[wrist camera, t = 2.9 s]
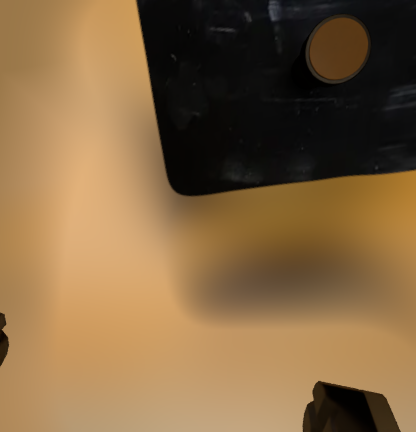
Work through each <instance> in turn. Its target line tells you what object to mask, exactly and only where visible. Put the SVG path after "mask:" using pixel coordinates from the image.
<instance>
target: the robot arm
mask: <svg viewBox="0 0 416 432" xmlns="http://www.w3.org/2000/svg"><path fill="white" fill-rule="evenodd" d="M5 325H6V320H5V315H4V314H3V313H0V366H1V365H2V363H3V361H4V358H5V357H6V355H7V352H8V346H9V342H8V337H7V336H6V334H5V333H4V332H3V331H2V329H3V327H4V326H5ZM313 398H314V401H312V402H310V403H309V404H307V407H306V410H305V413H304V419H303V432H401V431H400V429H399V427H398V425H397V422H396V420H395V418H394V415H393V413H392V411H391V408H390V406H389V404H388V402H387V399H386V398H385V397H384V396H383V395H382V394H379V393H374V392H369V391H364V390H359V389H355V388H350V387H346V386H341V385H336V384H331V383H326V382H321V381H318V382H317V383H316V384H315V386H314V388H313Z"/></svg>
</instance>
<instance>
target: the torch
mask: <svg viewBox="0 0 416 432" xmlns="http://www.w3.org/2000/svg"><path fill="white" fill-rule="evenodd" d="M370 53H371V36H370V33H369V30H368V28H367V27H366V25H365V24H364V23H363V22H362V21H361V20H360V19H358V18H357V17H355V16H353V15H349V14H336V15H332V16H330V17H327V18H325V19H324V20H322V21H321V22H320V23H319V24H317V25H316V27H315V28H314V29H313V30H312V31H311V33H310V34H309V36H308V37H307V38H306V40H305V41H304V43H303V45H302V48H301V51H300V55H299V56H298V57H297V58H296V59H295V61H294V63H293V65H292V68H291V77H292V80H293V82H294V83H295V85H296V86H298V87H299V88H301V89H304V90H311V89H315V88H317V87H332V86H336V85H339V84H342V83H345V82H347V81H349V80H351V79H353V78H354V77H355V76H357V75H358V74H359V73H360V72H361V71H362V69H363V68H364V67H365V65H366V63H367V61H368V59H369V56H370Z"/></svg>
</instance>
